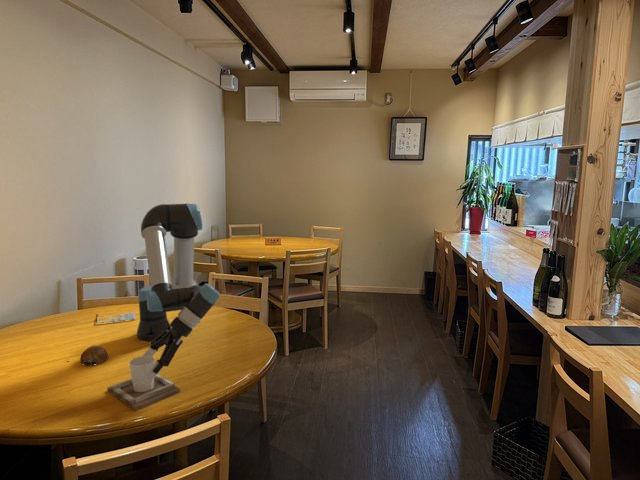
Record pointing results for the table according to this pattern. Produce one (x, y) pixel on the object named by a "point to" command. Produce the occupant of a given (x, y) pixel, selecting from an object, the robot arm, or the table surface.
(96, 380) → the table surface
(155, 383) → the keeper board
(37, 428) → the table surface
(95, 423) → the table surface
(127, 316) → the snack bag
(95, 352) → the bread roll
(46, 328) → the table surface
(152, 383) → the white cup
